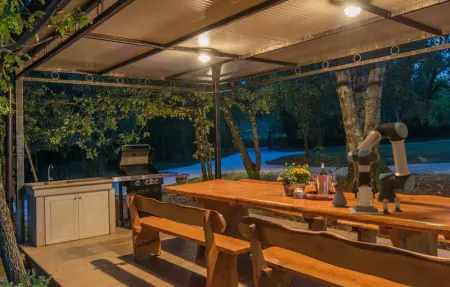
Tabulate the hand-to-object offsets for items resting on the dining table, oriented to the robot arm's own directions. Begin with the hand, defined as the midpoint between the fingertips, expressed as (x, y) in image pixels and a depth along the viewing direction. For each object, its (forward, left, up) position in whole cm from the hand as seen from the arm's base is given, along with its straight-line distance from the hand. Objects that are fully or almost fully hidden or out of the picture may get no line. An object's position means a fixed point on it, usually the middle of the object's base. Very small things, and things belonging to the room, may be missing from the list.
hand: (364, 203), depth 263 cm
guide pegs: (+2, +17, -6) cm, 18 cm away
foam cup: (0, 0, -2) cm, 2 cm away
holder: (0, 0, -6) cm, 6 cm away
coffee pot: (-26, -12, -6) cm, 29 cm away
